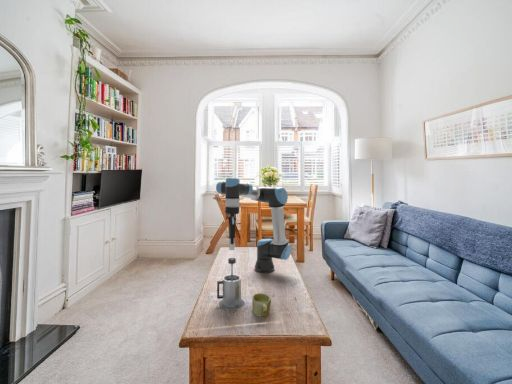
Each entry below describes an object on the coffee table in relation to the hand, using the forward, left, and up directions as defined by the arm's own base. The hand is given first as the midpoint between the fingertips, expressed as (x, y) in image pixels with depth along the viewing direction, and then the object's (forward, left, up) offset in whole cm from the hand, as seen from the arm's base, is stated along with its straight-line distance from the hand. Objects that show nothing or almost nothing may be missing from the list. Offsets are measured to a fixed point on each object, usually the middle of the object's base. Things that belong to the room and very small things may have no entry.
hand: (231, 249), depth 136 cm
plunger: (0, 0, -19) cm, 19 cm away
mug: (-14, +13, -31) cm, 36 cm away
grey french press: (+1, 0, -30) cm, 30 cm away
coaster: (0, 0, -30) cm, 30 cm away
